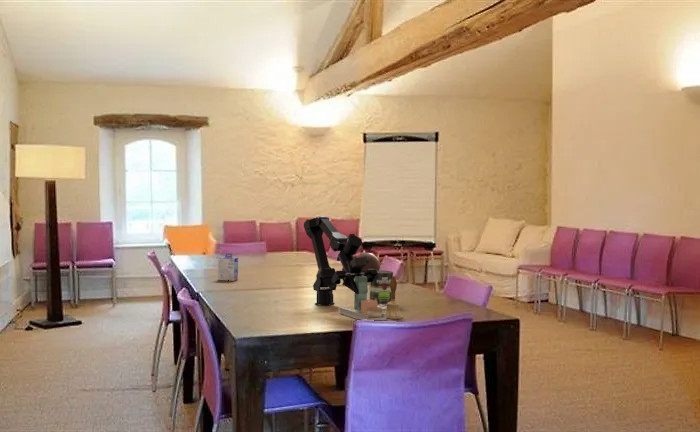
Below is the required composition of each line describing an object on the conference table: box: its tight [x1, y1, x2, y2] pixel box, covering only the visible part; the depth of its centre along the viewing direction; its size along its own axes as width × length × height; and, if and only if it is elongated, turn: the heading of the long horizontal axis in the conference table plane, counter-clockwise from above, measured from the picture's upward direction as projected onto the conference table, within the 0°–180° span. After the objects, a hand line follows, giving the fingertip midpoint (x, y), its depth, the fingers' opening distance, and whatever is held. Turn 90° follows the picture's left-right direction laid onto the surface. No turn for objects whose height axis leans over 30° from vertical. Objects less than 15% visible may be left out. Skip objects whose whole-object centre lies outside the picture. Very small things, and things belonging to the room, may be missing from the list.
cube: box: [361, 298, 378, 313], centre depth 260 cm, size 4×4×4 cm
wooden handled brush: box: [385, 275, 404, 320], centre depth 265 cm, size 8×8×16 cm
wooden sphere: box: [355, 252, 381, 273], centre depth 379 cm, size 15×15×15 cm
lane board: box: [338, 305, 387, 321], centre depth 267 cm, size 20×19×2 cm
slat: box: [351, 276, 382, 318], centre depth 262 cm, size 12×6×14 cm, turn 30°
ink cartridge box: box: [217, 252, 239, 282], centre depth 368 cm, size 10×6×14 cm, turn 77°
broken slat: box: [377, 305, 386, 312], centre depth 273 cm, size 8×6×1 cm
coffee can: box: [368, 270, 394, 306], centre depth 296 cm, size 10×10×14 cm
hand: (362, 293), depth 265 cm, fingers closed on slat, 3 cm apart
